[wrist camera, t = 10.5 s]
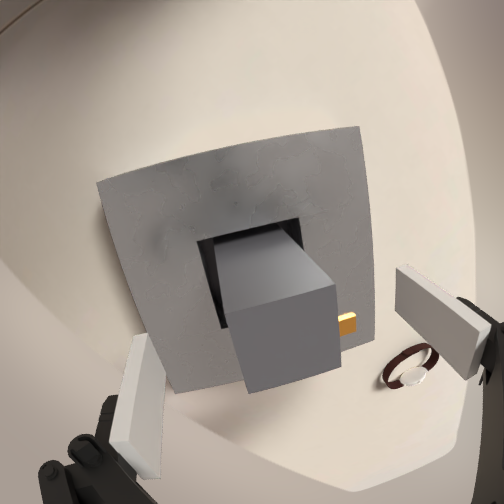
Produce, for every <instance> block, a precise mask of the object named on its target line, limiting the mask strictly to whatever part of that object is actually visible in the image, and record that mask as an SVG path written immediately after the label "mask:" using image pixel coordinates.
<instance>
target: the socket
mask: <svg viewBox="0 0 504 504" xmlns="http://www.w3.org/2000/svg"><path fill="white" fill-rule="evenodd" d="M97 187H98V191H99V195H100V198H101V202H102V206H103V209H104V213H105V216H106V220H107V223H108V226H109V229H110V233H111V236H112V239H113V242H114V245H115V248H116V251H117V254H118V257H119V260H120V263H121V266H122V269H123V272H124V275H125V277H126V280H127V283H128V286H129V288H130V291H131V294H132V296H133V299H134V302H135V304H136V307H137V309H138V312H139V314H140V317H141V319H142V322H143V324H144V326H145V329H146V331H147V333H148V334H149V337H150V339H151V341H152V344H153V346H154V348H155V350H156V352H157V355H158V357H159V359H160V361H161V363H162V365H163V367H164V370H165V372H166V376H167V378H168V380H169V382H170V384H171V386H172V388H173V390H174V392H175V394H178V393H183V392H189V391H194V390H199V389H204V388H209V387H214V386H219V385H223V384H228V383H232V382H237V381H241V380H244V378H243V374H242V371H241V368H240V365H239V361H238V358H237V355H236V352H235V348H234V345H233V342H232V338H231V335H230V331H229V328H228V325H227V321H226V318H225V314H224V308H223V302H222V296H221V289H220V283H219V277H218V270H217V263H216V256H215V250H214V243H213V237H216V236H220V235H224V234H228V233H232V232H236V231H241V230H245V229H249V228H253V227H258V226H262V225H266V224H270V223H275V222H276V223H277V224H278V225H279V226H280V227H281V228H282V229H283V230H284V231H285V232H286V233H287V234H288V235H289V236H290V237H291V238H292V239H293V240H294V241H295V242H296V243H297V244H298V245H299V246H300V247H301V248H302V250H303V251H304V252H305V253H306V254H307V255H308V256H309V257H310V258H311V259H312V260H313V261H314V262H315V263H316V264H317V265H318V266H319V267H320V268H321V269H322V270H323V271H324V272H325V273H326V274H327V275H328V276H329V277H330V278H331V279H332V280H333V282H334V283H335V284H336V292H337V304H338V317H339V331H340V349H341V352H342V351H345V350H348V349H351V348H354V347H356V346H359V345H362V344H365V343H368V342H370V341H373V340H374V335H375V289H374V259H373V241H372V227H371V215H370V204H369V194H368V185H367V176H366V168H365V161H364V154H363V147H362V140H361V134H360V128H359V126H355V127H344V128H335V129H327V130H319V131H312V132H305V133H299V134H292V135H286V136H280V137H274V138H269V139H263V140H258V141H252V142H247V143H242V144H237V145H233V146H228V147H223V148H219V149H214V150H210V151H205V152H201V153H197V154H193V155H189V156H185V157H181V158H177V159H173V160H169V161H165V162H162V163H158V164H154V165H151V166H147V167H144V168H140V169H137V170H134V171H130V172H127V173H124V174H120V175H117V176H114V177H111V178H108V179H105V180H102V181H99V182H97Z"/></svg>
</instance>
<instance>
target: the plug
mask: <svg viewBox="0 0 504 504" xmlns="http://www.w3.org/2000/svg"><path fill="white" fill-rule="evenodd" d="M213 243H214V250H215V256H216V263H217V270H218V277H219V283H220V289H221V296H222V302H223V308H224V314H225V318H226V321H227V325H228V328H229V331H230V335H231V338H232V342H233V345H234V348H235V352H236V355H237V358H238V361H239V365H240V368H241V371H242V374H243V378H244V381H245V384H246V387H247V390H248V394H251V393H255V392H259V391H263V390H266V389H270V388H274V387H278V386H281V385H285V384H288V383H292V382H295V381H299V380H302V379H305V378H308V377H312V376H315V375H318V374H321V373H324V372H327V371H330V370H333V369H336V368H339V367H341V349H340V331H339V317H338V304H337V292H336V284H335V283H334V282H333V280H332V279H331V278H330V277H329V276H328V275H327V274H326V273H325V272H324V271H323V270H322V269H321V268H320V267H319V266H318V265H317V264H316V263H315V262H314V261H313V260H312V259H311V258H310V257H309V256H308V255H307V254H306V253H305V252H304V251H303V250H302V248H301V247H300V246H299V245H298V244H297V243H296V242H295V241H294V240H293V239H292V238H291V237H290V236H289V235H288V234H287V233H286V232H285V231H284V230H283V229H282V228H281V227H280V226H279V225H278V224H277V223H276V222H275V223H270V224H266V225H262V226H258V227H253V228H249V229H245V230H241V231H236V232H232V233H228V234H224V235H220V236H216V237H213Z"/></svg>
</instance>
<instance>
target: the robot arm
mask: <svg viewBox="0 0 504 504" xmlns="http://www.w3.org/2000/svg"><path fill="white" fill-rule="evenodd" d="M395 311H396V312H397V313H398V314H399V315H400V316H401V317H402V318H403V319H404V320H405V321H406V322H407V323H408V324H409V325H410V326H411V327H412V328H413V329H414V330H416V331H417V332H418V333H419V334H420V335H421V336H422V337H423V338H424V339H425V340H426V341H427V342H428V343H429V344H430V345H431V346H432V347H433V348H434V349H435V350H436V351H437V352H438V353H439V354H440V355H441V356H442V357H443V358H444V359H445V360H446V361H447V362H448V363H449V364H450V365H451V366H452V367H453V368H454V369H455V371H456V372H457V373H458V374H459V375H460V376H461V377H462V378H463V379H464V380H465V381H466V380H467V379H469V378H471V377H472V376H474V375H475V374H477V372H478V368H479V366H480V364H481V365H483V366H484V367H485V368H484V370H483V373H482V376H481V379H480V381H479V385H481V383H482V381H483V417H482V433H481V445H480V455H479V463H478V470H477V476H476V483H475V488H474V494H473V498H472V502H471V504H504V322H502V323H498V322H497V321H496V320H494V319H493V318H492V317H490V316H489V315H488V314H486V313H485V312H484V311H482V310H480V309H479V308H478V307H477V306H475V305H474V304H473V303H471V302H470V301H469V300H467V299H464V298H461V297H457V298H455V297H454V296H452V295H451V294H449V293H448V292H447V291H445V290H444V289H442V288H441V287H440V286H438V285H437V284H435V283H434V282H433V281H431V280H430V279H428V278H427V277H425V276H424V275H422V274H421V273H419V272H418V271H417V270H415V269H414V268H412V267H411V266H409V265H408V264H406V265H403V266H400V267H397V268H396V294H395ZM165 383H166V372H165V370H164V367H163V365H162V363H161V361H160V359H159V357H158V355H157V352H156V350H155V348H154V346H153V344H152V341H151V339H150V337H149V334H148V333H143V334H138V335H134V336H133V340H132V344H131V347H130V351H129V355H128V359H127V363H126V367H125V371H124V375H123V379H122V383H121V387H120V391H119V395H111V396H108V398H107V399H106V400H105V402H104V403H103V405H102V409H101V415H100V417H99V422H98V425H97V429H96V434H95V437H94V436H93V435H90V434H82V435H79V436H77V437H75V438H74V439H73V440H72V441H71V442H70V444H69V446H68V455H69V457H70V458H71V459H72V460H73V461H74V462H75V463H74V464H71V465H67V466H63V465H62V464H61V463H60V462H59V461H56V460H51V461H48V462H46V463H44V464H43V465H42V466H41V467H40V470H39V472H38V478H39V484H40V489H41V495H42V500H43V504H157V502H156V501H155V500H154V499H153V498H152V497H151V496H150V495H149V494H148V493H147V492H146V491H145V490H144V489H143V488H142V487H141V486H140V485H139V484H138V483H137V482H136V475H137V474H138V475H139V476H140V477H141V478H142V479H160V478H161V450H162V449H161V448H162V428H163V410H164V396H165Z"/></svg>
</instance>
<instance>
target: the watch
mask: <svg viewBox="0 0 504 504" xmlns="http://www.w3.org/2000/svg"><path fill="white" fill-rule="evenodd" d="M426 348H431V350H432V352H431V356H430V358H429V359H428V360H427V362H426V363H425V364H423V365H422V366H420V367H413V368H411V369H408V370H406V371H405V372H404V373H403V374H402V375H401V377H400V379H398V380H397V381H394V382H388V378H389V376H390V374H391V372H392V371H393V370H394V368H395V367H396V366H397V365H398V364H399V363H400V362H402V361H403V360H405V359H406V358H408V357H410V356H411V355H413V354H415V353H417V352H419V350H422V349H426ZM402 352H403V353H401V354H399V355H398V356H396V357H395V358H394V359H392V360H391V361H390V362H389V363H388V364H387V365H386V367H385V369H384V371H383V375H382V378H383V380H384V382H385V383H386V384H387V386H388V387H389V388H391V389H398V388H400V387H403V386H414V385H417V384H419V383H421V382H422V381H423V380H424V378H425V376H426V372H428V371H429V370H430V369H431V368H433V367H434V366H435V364H436V363H437V361H438V359H439V353H438V352H437V351H436V350H435V349H434V348H433V347H432V346H431V345H429V344H427V343H421V344H417V345H414V346H412V347H410V348H408V349H406V350H404V351H402Z"/></svg>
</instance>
